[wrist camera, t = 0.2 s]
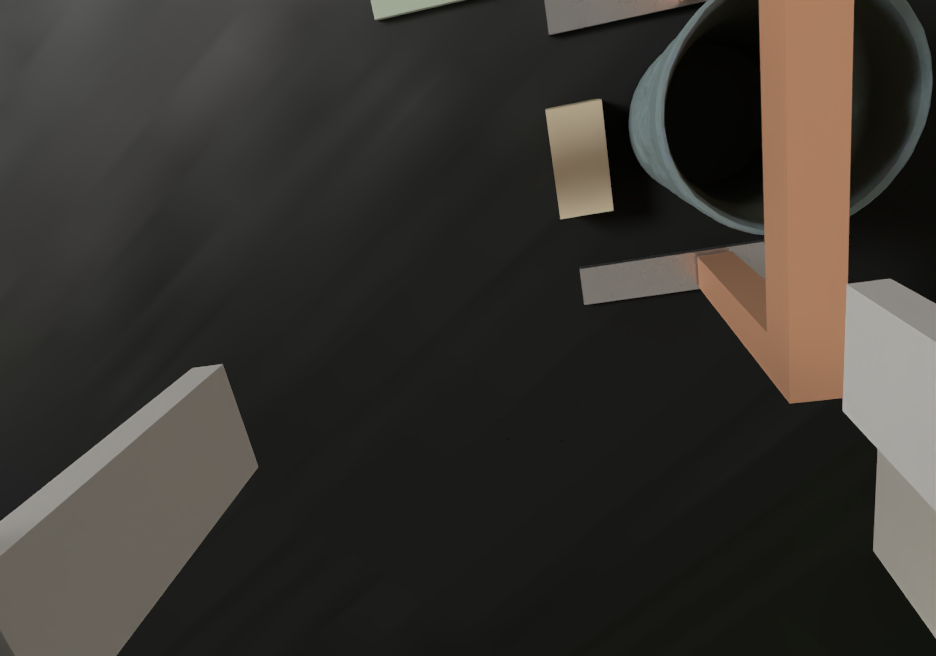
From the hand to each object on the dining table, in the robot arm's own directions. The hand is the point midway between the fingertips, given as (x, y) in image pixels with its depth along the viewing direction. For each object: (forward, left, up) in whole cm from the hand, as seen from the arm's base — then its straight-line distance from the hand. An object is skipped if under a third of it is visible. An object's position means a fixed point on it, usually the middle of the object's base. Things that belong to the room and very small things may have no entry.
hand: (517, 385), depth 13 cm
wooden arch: (-2, +10, -27) cm, 29 cm away
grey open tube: (-2, +10, -26) cm, 28 cm away
